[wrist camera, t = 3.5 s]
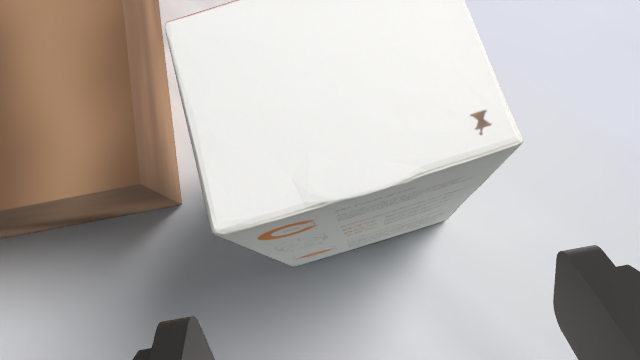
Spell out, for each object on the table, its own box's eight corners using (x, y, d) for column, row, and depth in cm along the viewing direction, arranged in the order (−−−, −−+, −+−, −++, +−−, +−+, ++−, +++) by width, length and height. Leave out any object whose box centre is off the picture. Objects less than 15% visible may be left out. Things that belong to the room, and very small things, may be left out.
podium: (155, -22, 30) (114, -85, 25) (181, 204, 27) (140, 183, 22) (-66, 24, 30) (-149, -29, 25) (-65, 250, 27) (-158, 240, 22)
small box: (408, 101, 27) (445, -73, 14) (450, 220, 25) (534, 145, 13) (255, 148, 27) (156, 18, 14) (288, 270, 26) (212, 244, 13)
